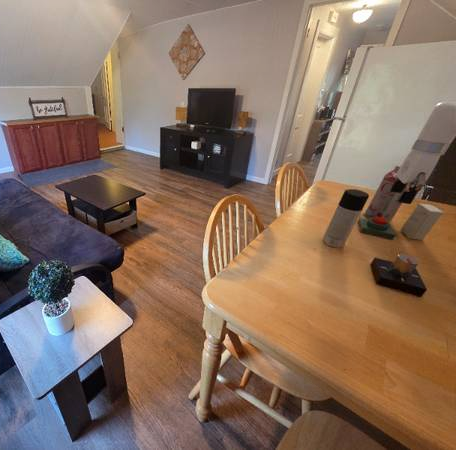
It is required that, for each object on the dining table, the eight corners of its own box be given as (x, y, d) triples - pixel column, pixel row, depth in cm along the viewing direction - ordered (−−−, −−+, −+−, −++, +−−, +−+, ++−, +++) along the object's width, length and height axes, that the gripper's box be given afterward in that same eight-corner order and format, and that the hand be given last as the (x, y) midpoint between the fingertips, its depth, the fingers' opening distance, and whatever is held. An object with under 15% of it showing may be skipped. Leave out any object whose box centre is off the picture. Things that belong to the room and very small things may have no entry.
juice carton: (378, 222, 101) (408, 172, 90) (363, 215, 107) (389, 166, 95) (391, 221, 103) (421, 170, 91) (375, 213, 108) (402, 165, 97)
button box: (387, 228, 98) (392, 220, 95) (393, 239, 91) (398, 231, 89) (357, 222, 102) (361, 213, 100) (360, 232, 95) (365, 223, 93)
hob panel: (410, 275, 75) (416, 267, 73) (420, 297, 67) (427, 289, 66) (370, 264, 79) (374, 256, 77) (376, 284, 71) (381, 276, 70)
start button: (383, 221, 95) (385, 218, 94) (385, 226, 92) (387, 222, 91) (372, 219, 96) (374, 215, 96) (373, 223, 94) (376, 219, 93)
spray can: (348, 247, 87) (375, 196, 76) (331, 249, 86) (356, 197, 75) (333, 236, 92) (357, 187, 82) (317, 238, 91) (339, 188, 81)
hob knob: (387, 265, 74) (397, 251, 71) (406, 269, 72) (416, 256, 70) (391, 274, 71) (401, 260, 68) (411, 279, 69) (422, 265, 66)
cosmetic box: (399, 230, 97) (417, 202, 90) (412, 231, 96) (431, 204, 89) (410, 239, 91) (429, 210, 85) (423, 240, 91) (444, 212, 84)
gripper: (405, 139, 83) (380, 186, 92) (424, 151, 70) (392, 205, 79) (434, 142, 80) (405, 190, 89) (460, 155, 67) (422, 210, 76)
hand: (399, 197), depth 84 cm, fingers open, 9 cm apart
